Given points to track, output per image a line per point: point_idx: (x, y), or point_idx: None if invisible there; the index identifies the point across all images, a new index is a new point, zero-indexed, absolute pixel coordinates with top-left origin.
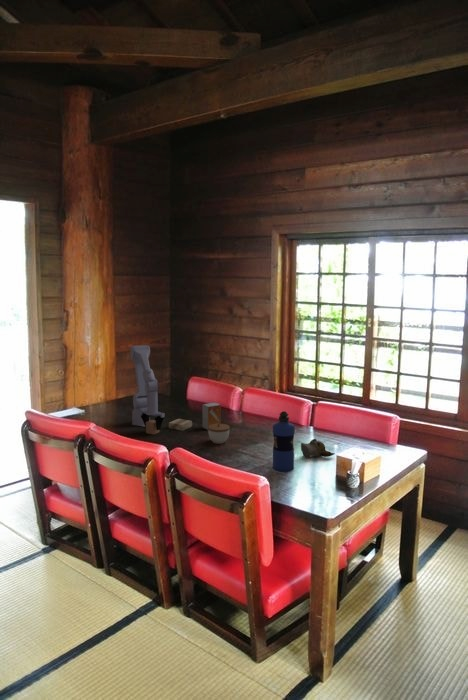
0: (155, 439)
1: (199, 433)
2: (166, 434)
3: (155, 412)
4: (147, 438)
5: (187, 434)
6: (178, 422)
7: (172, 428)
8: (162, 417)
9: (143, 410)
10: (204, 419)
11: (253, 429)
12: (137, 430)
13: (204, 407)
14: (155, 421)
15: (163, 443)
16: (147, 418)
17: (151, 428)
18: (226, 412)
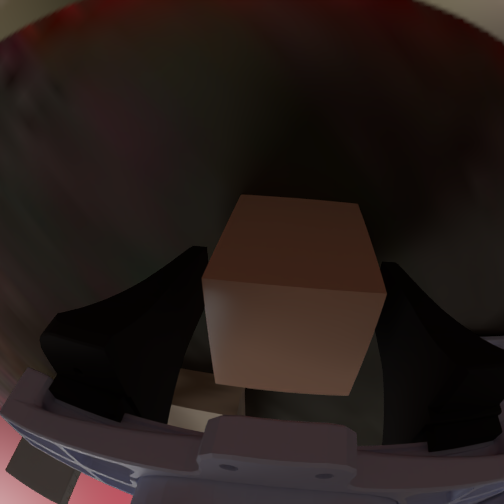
0: (105, 72)
1: (35, 334)
2: (135, 253)
3: (135, 491)
4: (201, 39)
5: (48, 304)
6: (177, 423)
7: (208, 375)
8: (28, 372)
9: (490, 490)
10: None
11: (9, 390)
12: (480, 242)
13: (42, 483)
14: (250, 363)
15: (5, 54)
16: (400, 387)
17: (262, 231)
18: None
